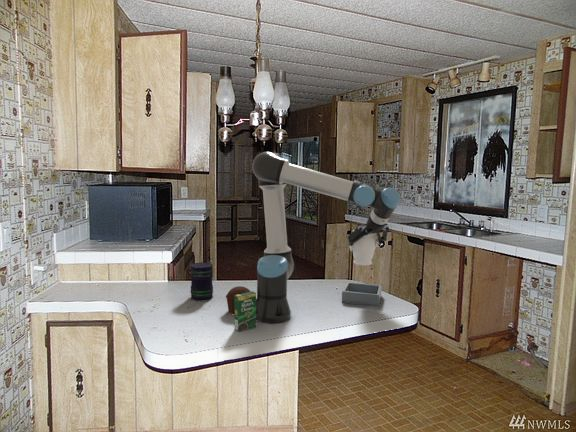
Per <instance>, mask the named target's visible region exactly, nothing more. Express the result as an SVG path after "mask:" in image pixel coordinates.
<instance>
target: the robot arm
mask: <svg viewBox="0 0 576 432" xmlns="http://www.w3.org/2000/svg"><path fill="white" fill-rule="evenodd" d="M251 167H252V168H251V169H252V172H253V174H254V176H255V177H256V178H257V179H258V187H259V188H260V189H261V191H262V195H263V196H262V197H263V210H264V211H263V212H264V223H265V235H266V248H265V249H264V251H263V256H262V257H260V258H259V259H258V261H257V266H256V271H257V273H256V275H257V278H256V282H257V283H256V284H257V285H256V322H260V323H265V324H279V323H284V322H287V321H289V320H290V319H291V317H292V316H291V314H292V312H291V308H290V304H289V301H288V297H287V295H288V290H287V289H288V280H289V278H290V277H291V276H292V274H293V273H294V269H295V262H294V259H293V256H292V255H293V254H292V253H293V252H292V248H291V247H290V246H289V245H288V234H287V222H286V209H285V207H286V206H285V193H284V190H285V187H286V186H287V185H291V186H294V187H299V188H302V189H305V190H308V191H312V192H315V193H319V194H322V195H326V196H329V197H333V198H336V199H339V200H343V201H347V202H349V203H353V204H356V205H358V206H360V207H370V208H373V209H372V210H371V212H370V214H369V216H368V218H367V220H366V223H365V224H364V225H362V224H360V223H359V224H358V225H357V226H356V227H355V229H353V230H354V231H353V230H352V232H351V233H350V234H349V235H348V237H347V239H348V241H349V245H348V248H349V251H350V252H353V248H354V246H355V245H356V241H358V240H359V239H360V238H362V237H363V236H365V235H368V234H371V233H373V234H375V233H376V234H375V235H376V236H377V237H375V250H376V248H377V247H378V246H379V245H380V244H383V242H387V238H388V232H389V230H390V227H389V224H388V221H389V219H391V216H392V215H393V213H394V211H395V210H396V208H397V206H398V205H399V203H400V200H401V195H400V192H398V190H397V189H395V188H393V187H392V188H391V187H386V188H384V189H383V190H381V189H377V188H376V187H374V186H371V185H368V184H366V183H365V182H361V181H359V180H354V181H352V180H348V179H346V178H341V177H338V176H336V175H335V176H334V175H331V174H328V173H325V172H320V171H317V170H315V169H311V168H307V167H303V166H301V165H296V164H294V163H293V164H292V163H290V162H289V160H288V159H286V158H284V157H283V156H282V155H281V154H280V153H276V152H271V151H263V152H260V153H259V154H257V155H256V156H255V157H254V159H253V161H252V164H251ZM380 231H382V235H381V234H380Z"/></svg>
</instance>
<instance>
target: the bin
mask: <svg viewBox="0 0 576 432" xmlns="http://www.w3.org/2000/svg"><path fill="white" fill-rule="evenodd" d="M381 298H382V285H380V284H370V283H360V282H359V283H358V282H349V281H347V282H346V283H345V286H344V287H343V289H342V291H341V303H343V304H344V303H346V304H353V305H354V304H355V305H361V306H371V307H379V306H380V302H381Z"/></svg>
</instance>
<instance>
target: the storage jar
mask: <svg viewBox="0 0 576 432" xmlns="http://www.w3.org/2000/svg"><path fill="white" fill-rule="evenodd" d="M213 266H214V265H213V263H211V262H203V261H202V262H194V263H191V264H190V279H191V283H190V284H191V286H190V299H191V300H192V301H196V302H205V301H209V300H212V299H213V298H214V296H213V294H214V285H213V277H214V267H213Z"/></svg>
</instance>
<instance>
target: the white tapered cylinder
mask: <svg viewBox="0 0 576 432" xmlns="http://www.w3.org/2000/svg"><path fill="white" fill-rule="evenodd" d="M354 230H355V229H353V230H352V232H353V231H354ZM375 235H377V233H375V234H373V233H371V234H368V235H365V236H363V237H362V238H360V239H359V240H358V241H356V245H355V246H354V248H353V250H352V256H353V258H354V260H353V263H354V265H359V266H371V265H373V261H372V260H373V257H374V254H375V250H376V249H375V239H376V236H375Z"/></svg>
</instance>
